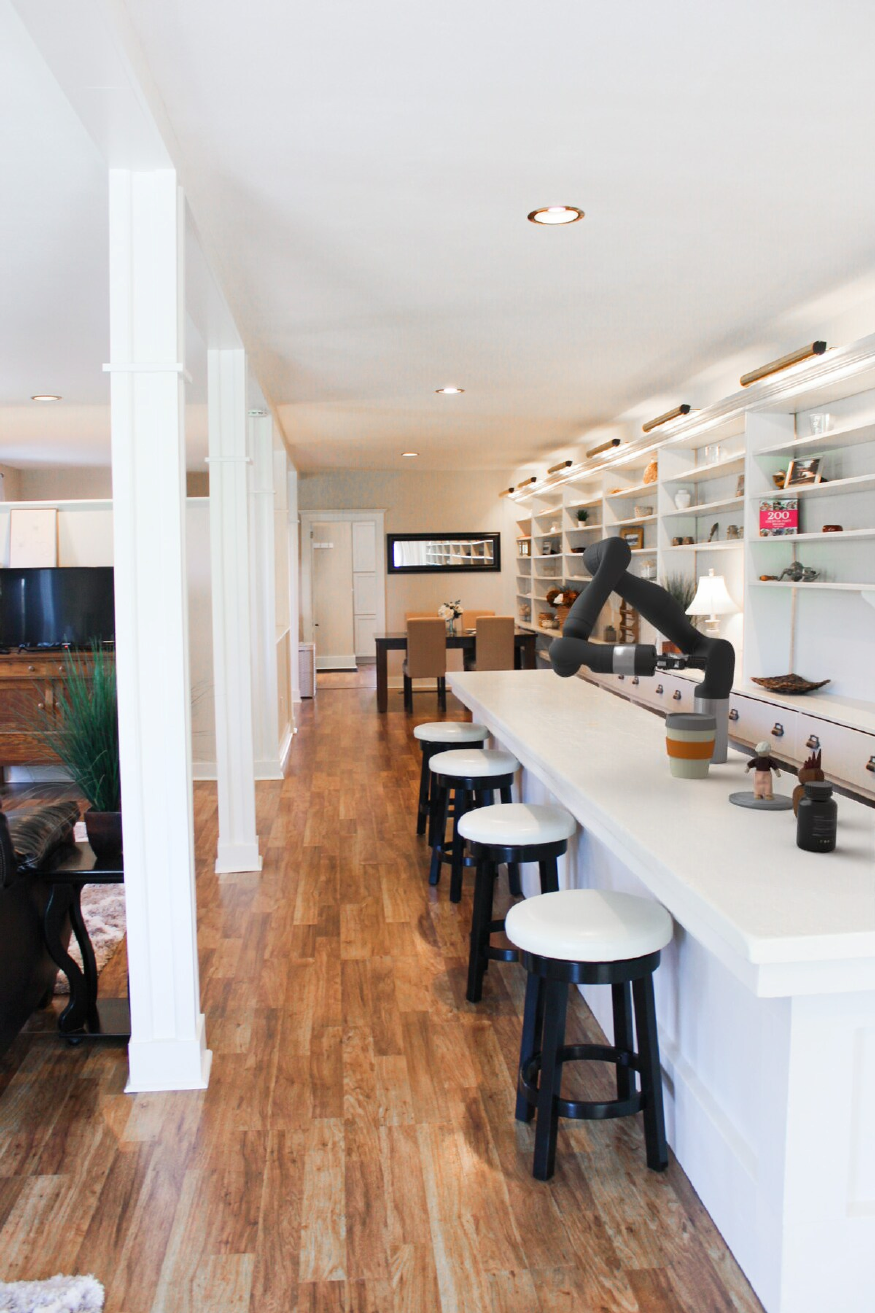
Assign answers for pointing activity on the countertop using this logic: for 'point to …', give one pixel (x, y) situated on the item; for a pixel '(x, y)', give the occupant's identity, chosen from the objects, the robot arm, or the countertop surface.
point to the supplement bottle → (817, 818)
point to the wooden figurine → (807, 777)
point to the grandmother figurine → (763, 771)
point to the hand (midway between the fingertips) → (706, 662)
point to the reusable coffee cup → (690, 743)
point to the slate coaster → (761, 801)
